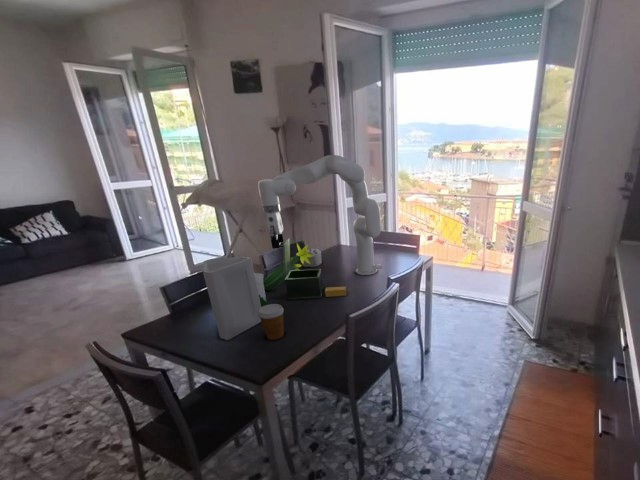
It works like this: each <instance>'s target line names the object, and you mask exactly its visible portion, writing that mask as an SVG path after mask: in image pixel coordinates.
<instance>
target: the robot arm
mask: <svg viewBox="0 0 640 480" xmlns="http://www.w3.org/2000/svg"><path fill="white" fill-rule="evenodd" d="M331 175H338V176H339V178H340V180H342V181H344V182H345V183H346V184H347V185H348V186H349V188H350V192H351V199H352V207H353V211H354V213H355V214H356V215H358V217H357V218H355V220H354V221H353V232H354V236H355V245H356V257H357V258H356V259H357V268H356V269H355V273H356V274H357V275H359V276H370V275H375V274H376V273H378V269H380V270H382V269H383V265H382V264H376V263H375V252H374V249H375V248H374V238H377V237H379V236H380V235H381V232H382V217H381V208H380V205H379V202H378V201H376V199H374V198H370V197H369V193H368V192H369V191H368V187H367V183H366V181H365V179H366V171H365V169H364V167H362V166H361V165H360V164H358V163H356V162H354V161H352V160H349V159H348V158H345V157H343V156H341V155H337V154H335V155H334V154H328V155H325V156H322V157H320V158H318V159H316V160H314V161H311V162H310V163H307V164H306V165H301V166H298V167H296V168H293V169H291V170H287V171H285V172H282V173H281V174H278V175H277V176H274V178H272V179H261V180H259V181H258V182H257V187H258V192H259V196H260V197H259V198H260V203H261V207H262V211H263V212H262V213H263V214H265V219H266V225H267V231H268V235H270V236H269V238H270V243H271V248H272V249H274V250H275V249H280V248H281V247H280V246H279V242H281V243H285V241H284V235H283V231H284V224H283V220H282V216H281V206H280V199H279V196H283V197H286V196H287V197H288V196H292V195H294V194H295V193H296V190H297V186H301V185H302V186H303V185H310V184H311V185H312V184H314V183H317V182H319V181H321V180H323V179H324V178H326V177H329V176H331Z"/></svg>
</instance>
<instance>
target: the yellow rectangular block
mask: <svg viewBox="0 0 640 480" xmlns="http://www.w3.org/2000/svg"><path fill="white" fill-rule="evenodd" d="M324 294H325V297H326V298H329V297H343V296H344V297H346V296H347V286H331V287H330V286H328V287H325V289H324Z"/></svg>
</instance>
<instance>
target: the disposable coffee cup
mask: <svg viewBox="0 0 640 480" xmlns="http://www.w3.org/2000/svg"><path fill="white" fill-rule="evenodd" d="M284 310H285V309H284V307H283V306H282V305H281V304H278V303H270V304H268V305H265V306H263V307H261V308H260V309H259V312H258V315H259V317H260V319H261V324H262V327H263V329H264V332H265V335H266V338H267V339H268V340H273V341H274V340H279V339H281V338H283V337H284Z"/></svg>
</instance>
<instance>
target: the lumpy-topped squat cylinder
mask: <svg viewBox="0 0 640 480" xmlns="http://www.w3.org/2000/svg"><path fill="white" fill-rule="evenodd" d="M307 251H308V254H311V255H313V257H307V259H308V260H309V262H310V263H311V264H309V263H307V262H306V261H305V260H304V263H303V264H302V263H301V265H302V267H309V268H314V267H315V268H316V267H319V266H320V265H321V264H322V263H323V262H322V261H323V260H322V252H321V250H320V249H317V248H310V249H307Z"/></svg>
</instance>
